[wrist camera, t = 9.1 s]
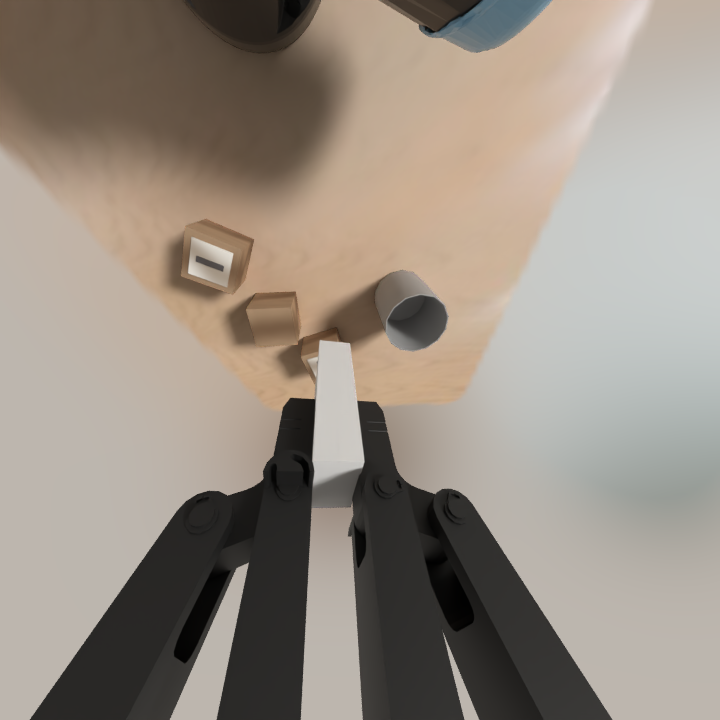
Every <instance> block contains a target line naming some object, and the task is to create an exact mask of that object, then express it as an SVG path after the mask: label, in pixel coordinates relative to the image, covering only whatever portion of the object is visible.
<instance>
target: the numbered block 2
mask: <svg viewBox="0 0 720 720" xmlns="http://www.w3.org/2000/svg"><path fill="white" fill-rule="evenodd" d="M320 340H323V341H333V342H342V341H341V338H340V336H339V333H338V330H337V328H334V329H330V330H327V331H323V332H320V333H317V334H313V335H310V336H306V337H304V338H303V344H302V350H301V359H302V361H303V363H304V365H305V366H306V368H307V370H308V372H309V374H310V376H311V378H312V380H313V382H314V384H316V373H317V363H318V353H319V342H320Z"/></svg>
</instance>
